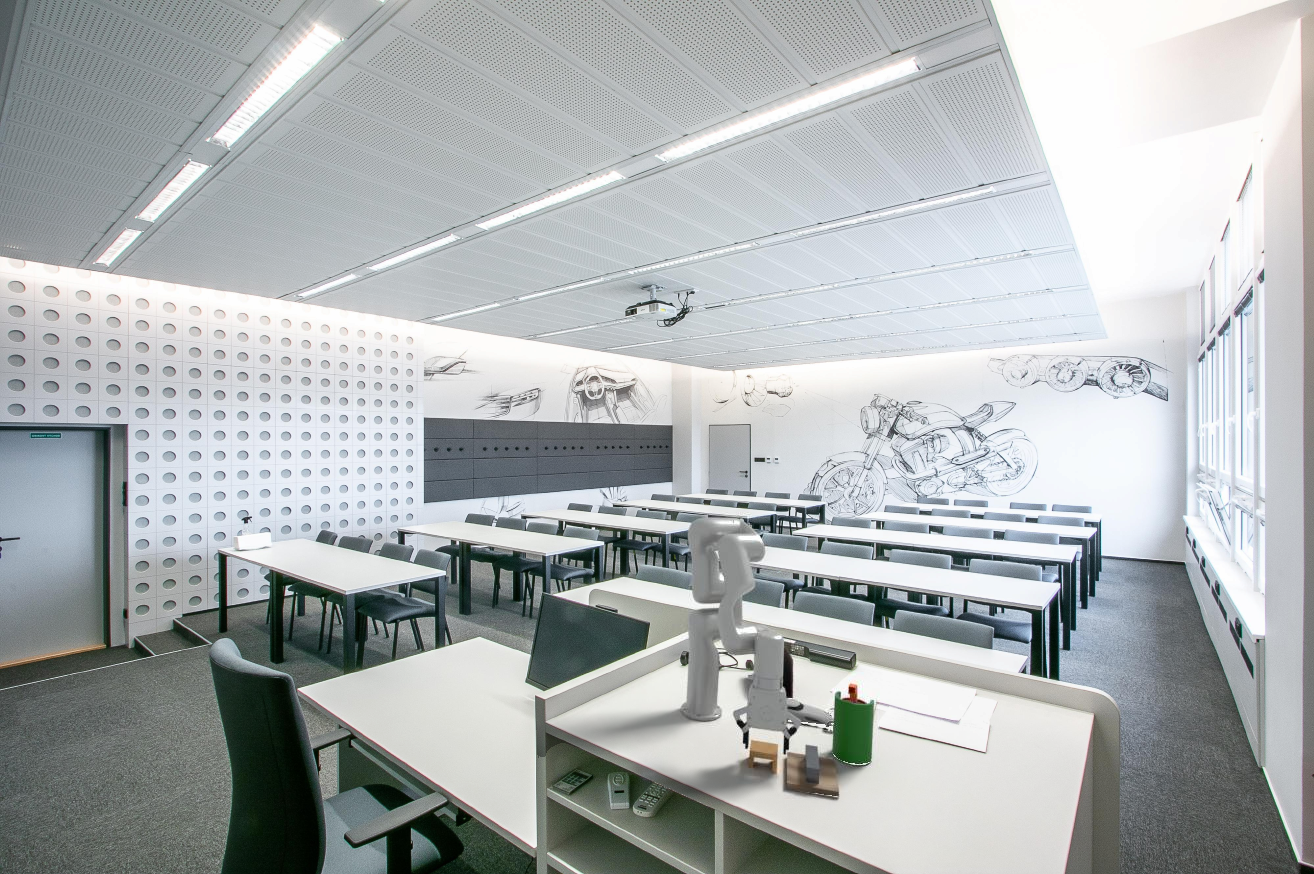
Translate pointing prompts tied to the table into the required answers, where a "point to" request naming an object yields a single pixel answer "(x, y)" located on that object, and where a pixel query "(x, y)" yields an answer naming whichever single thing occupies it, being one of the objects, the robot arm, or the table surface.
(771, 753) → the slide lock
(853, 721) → the motor
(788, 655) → the letter holder
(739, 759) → the table surface
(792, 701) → the car model
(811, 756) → the rail
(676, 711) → the table surface
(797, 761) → the rail base
